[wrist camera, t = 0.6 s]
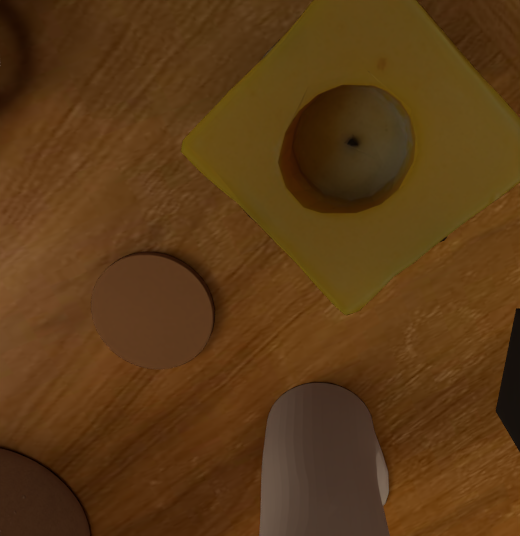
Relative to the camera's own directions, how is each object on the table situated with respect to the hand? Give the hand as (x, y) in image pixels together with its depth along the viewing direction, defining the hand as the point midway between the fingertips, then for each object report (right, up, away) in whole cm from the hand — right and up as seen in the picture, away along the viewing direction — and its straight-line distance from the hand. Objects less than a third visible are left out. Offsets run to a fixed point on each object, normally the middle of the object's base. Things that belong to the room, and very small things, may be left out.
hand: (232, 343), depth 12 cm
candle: (+5, +9, +16) cm, 19 cm away
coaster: (-6, -1, +20) cm, 21 cm away
